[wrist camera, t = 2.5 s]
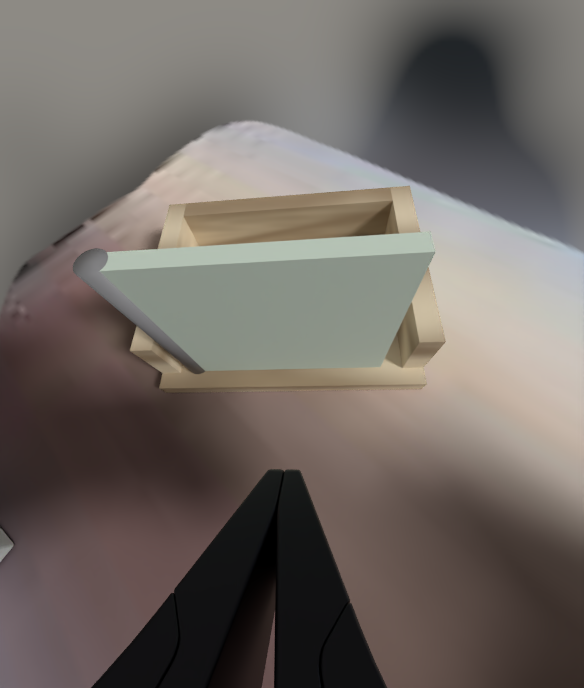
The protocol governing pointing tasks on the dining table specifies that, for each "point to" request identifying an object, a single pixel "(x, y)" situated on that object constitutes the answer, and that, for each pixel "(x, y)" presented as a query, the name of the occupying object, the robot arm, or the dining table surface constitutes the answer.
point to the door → (267, 299)
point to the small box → (4, 544)
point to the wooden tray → (300, 224)
